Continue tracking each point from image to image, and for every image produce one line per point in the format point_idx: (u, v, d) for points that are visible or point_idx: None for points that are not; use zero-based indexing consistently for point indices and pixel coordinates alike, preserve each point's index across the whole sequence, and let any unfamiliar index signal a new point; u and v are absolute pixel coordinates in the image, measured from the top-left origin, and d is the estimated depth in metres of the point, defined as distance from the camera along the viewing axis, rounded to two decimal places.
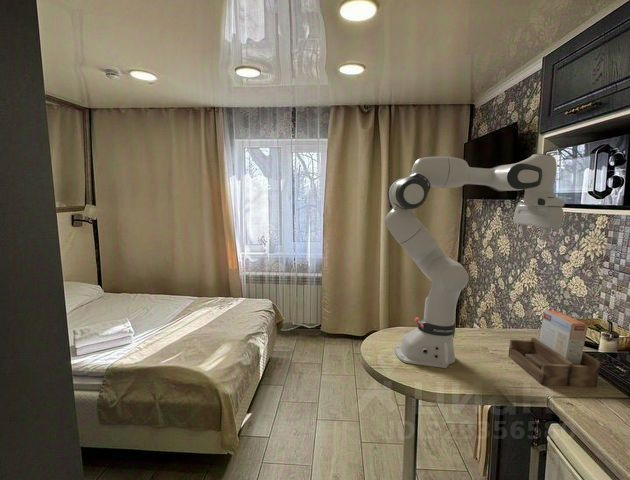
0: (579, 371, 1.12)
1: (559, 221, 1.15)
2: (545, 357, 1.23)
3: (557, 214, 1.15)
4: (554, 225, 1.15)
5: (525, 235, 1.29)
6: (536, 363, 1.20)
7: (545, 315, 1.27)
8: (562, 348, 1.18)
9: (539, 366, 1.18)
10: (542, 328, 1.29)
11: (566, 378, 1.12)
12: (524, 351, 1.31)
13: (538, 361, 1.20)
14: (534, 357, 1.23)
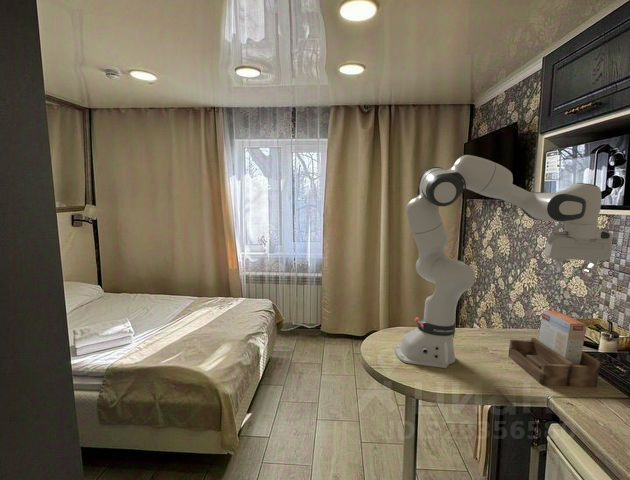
0: (579, 371, 1.12)
1: None
2: (545, 357, 1.23)
3: None
4: None
5: None
6: (536, 364, 1.20)
7: (544, 315, 1.27)
8: (562, 349, 1.18)
9: (539, 367, 1.18)
10: (541, 328, 1.29)
11: (566, 378, 1.12)
12: (524, 351, 1.31)
13: (538, 362, 1.20)
14: (534, 358, 1.23)
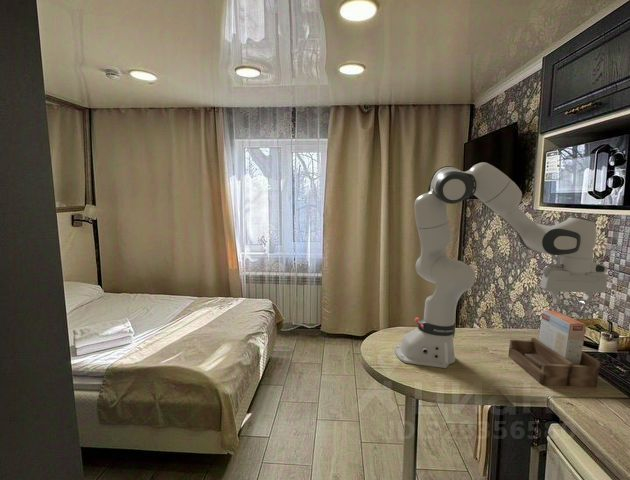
0: (579, 371, 1.12)
1: None
2: (545, 357, 1.23)
3: None
4: None
5: None
6: (536, 363, 1.20)
7: (544, 315, 1.27)
8: (561, 349, 1.18)
9: (539, 366, 1.18)
10: (541, 328, 1.29)
11: (566, 378, 1.12)
12: (524, 351, 1.31)
13: (538, 361, 1.20)
14: (533, 357, 1.23)
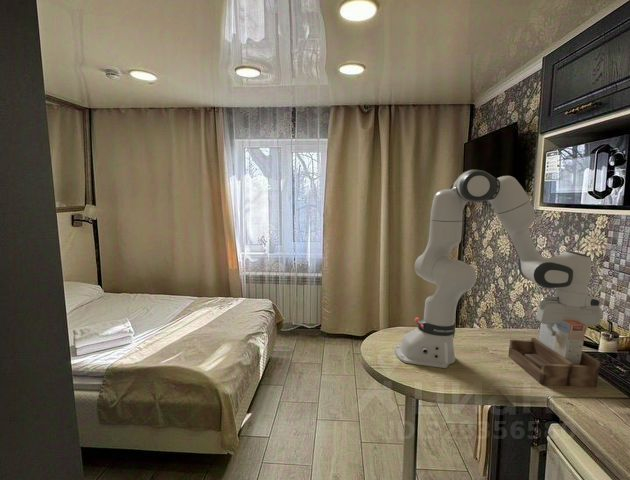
0: (579, 371, 1.12)
1: None
2: (545, 357, 1.23)
3: None
4: None
5: None
6: (536, 363, 1.20)
7: None
8: (561, 349, 1.18)
9: (539, 366, 1.19)
10: (541, 328, 1.29)
11: (566, 378, 1.12)
12: (524, 351, 1.31)
13: (538, 361, 1.20)
14: (533, 357, 1.24)
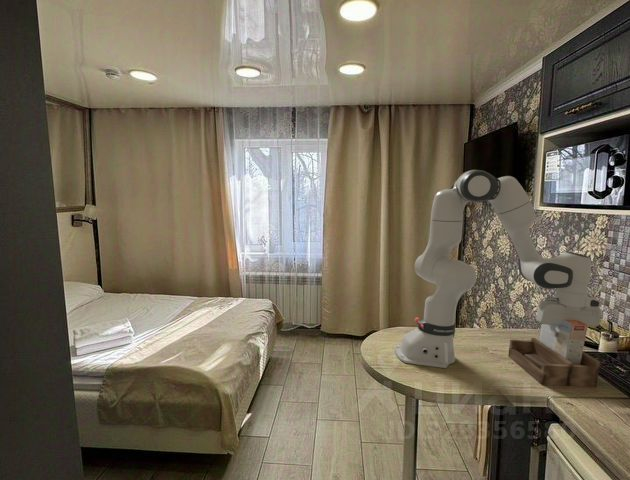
0: (579, 371, 1.12)
1: None
2: (545, 357, 1.23)
3: None
4: None
5: None
6: (536, 363, 1.20)
7: None
8: (562, 348, 1.18)
9: (540, 366, 1.19)
10: (542, 328, 1.29)
11: (566, 378, 1.12)
12: (524, 351, 1.31)
13: (538, 361, 1.20)
14: (533, 357, 1.23)
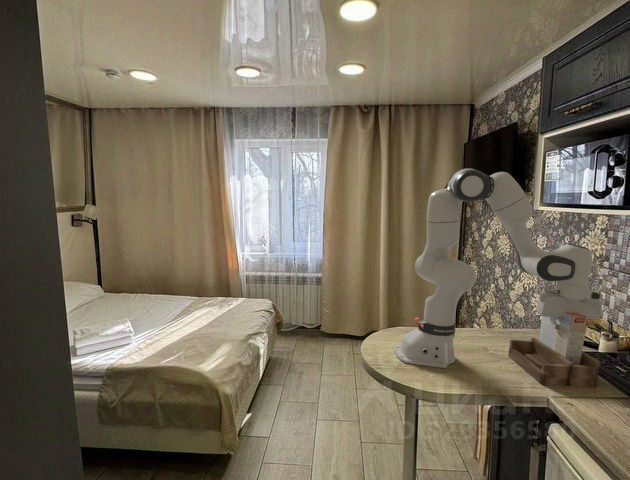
0: (579, 371, 1.12)
1: None
2: (545, 357, 1.23)
3: None
4: None
5: None
6: (536, 363, 1.20)
7: None
8: (563, 341, 1.17)
9: (539, 367, 1.19)
10: (542, 322, 1.28)
11: (566, 378, 1.12)
12: (524, 351, 1.31)
13: (538, 361, 1.20)
14: (533, 357, 1.23)
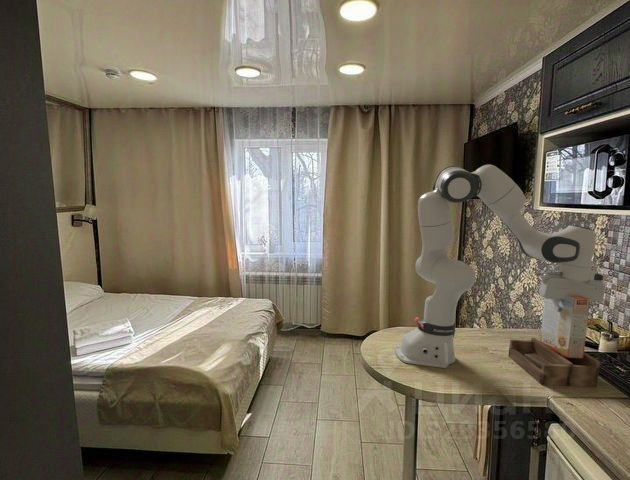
0: (579, 371, 1.12)
1: None
2: (545, 357, 1.23)
3: None
4: None
5: None
6: (537, 363, 1.20)
7: None
8: (566, 324, 1.16)
9: (540, 366, 1.19)
10: (544, 307, 1.27)
11: (566, 378, 1.12)
12: (524, 351, 1.31)
13: (538, 361, 1.20)
14: (533, 357, 1.24)
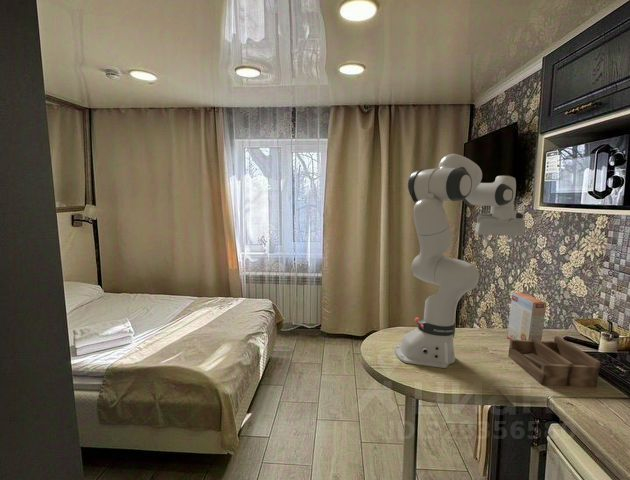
0: (579, 371, 1.12)
1: None
2: (545, 357, 1.23)
3: None
4: None
5: None
6: (537, 364, 1.20)
7: (513, 297, 1.50)
8: (527, 324, 1.41)
9: None
10: (511, 308, 1.51)
11: (566, 378, 1.12)
12: (524, 351, 1.31)
13: (538, 361, 1.20)
14: (532, 357, 1.23)
